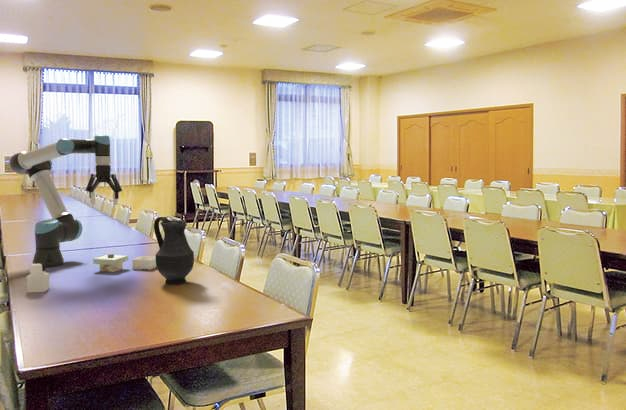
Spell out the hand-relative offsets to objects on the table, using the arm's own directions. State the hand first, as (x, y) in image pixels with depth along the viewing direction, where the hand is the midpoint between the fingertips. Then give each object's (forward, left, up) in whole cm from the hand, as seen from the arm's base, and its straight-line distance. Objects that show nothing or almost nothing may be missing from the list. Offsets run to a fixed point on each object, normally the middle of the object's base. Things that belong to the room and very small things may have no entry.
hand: (104, 204), depth 308 cm
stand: (+12, -13, -32) cm, 36 cm away
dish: (+26, -3, -32) cm, 41 cm away
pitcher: (+55, -29, -32) cm, 70 cm away
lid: (+12, -13, -28) cm, 33 cm away
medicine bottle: (+8, -60, -32) cm, 68 cm away
